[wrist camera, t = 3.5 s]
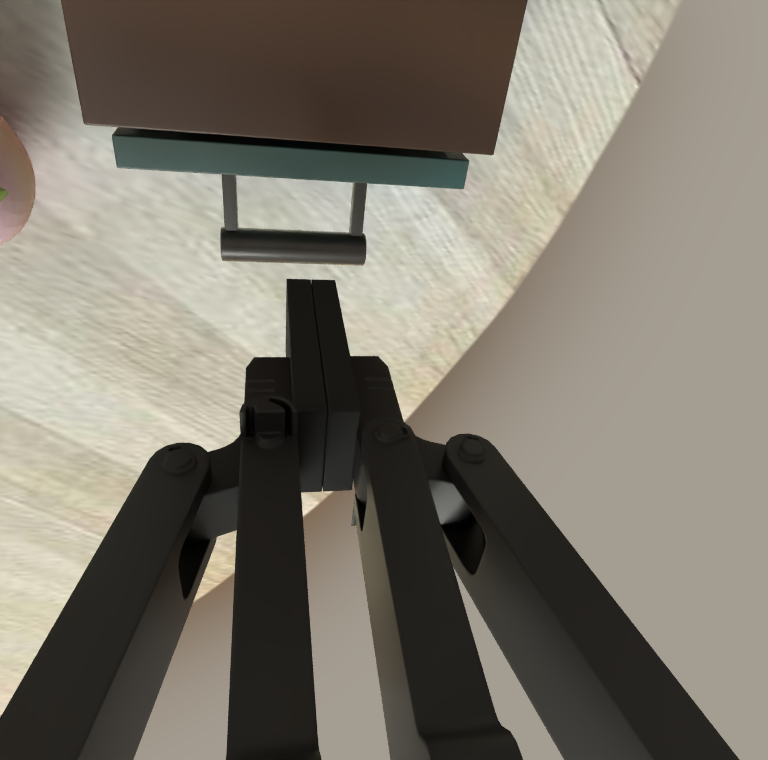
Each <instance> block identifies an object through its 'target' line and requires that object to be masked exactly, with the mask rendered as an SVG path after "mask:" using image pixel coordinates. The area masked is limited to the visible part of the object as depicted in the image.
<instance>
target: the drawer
mask: <svg viewBox="0 0 768 760" xmlns="http://www.w3.org/2000/svg"><path fill="white" fill-rule="evenodd" d="M112 140H113V146H114V152H115V158H116V165H117V167H118V168H128V169H144V170H160V171H176V172H193V173H209V174H222V187H223V205H224V223H225V227H222V228H221V257H222V260H223V261H242V262H273V263H304V264H334V265H364V263H365V259H366V237H365V234H364V233H362V232H363V221H364V211H365V200H366V190H367V183H371V184H387V185H404V186H420V187H436V188H452V189H464V185H465V180H466V175H467V170H468V164H469V160H468V159H467V158H466V157H465V156H464V155H463V154H462V153H458V152H444V151H431V150H418V149H404V148H391V147H378V146H364V145H351V144H337V143H324V142H311V141H297V140H284V139H271V138H257V137H244V136H231V135H217V134H204V133H190V132H177V131H164V130H150V129H137V128H124V127H118V128H117V129H116V131H115V132H114V133H113V134H112ZM236 175H241V176H257V177H274V178H290V179H306V180H322V181H339V182H353V190H352V202H351V215H350V227H349V232H350V233H346V232H323V231H300V230H277V229H254V228H238V208H237V183H236Z"/></svg>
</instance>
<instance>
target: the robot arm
mask: <svg viewBox="0 0 768 760" xmlns="http://www.w3.org/2000/svg"><path fill="white" fill-rule="evenodd" d="M240 430H241V434H240V436H239V437H238V438H237V439H236V440H235V441H234V442H233V443H231V444H229V445H228V446H226V447H223V448H220V449H217V450H214V451H210V452H207V451H206V450H205V449H203V448H202V447H201V446H199V445H195V444H192V443H175V444H171V445H168V446H165V447H163V448H162V449H160V450H158V451H156V452H155V454H154V455H153V456H152V457H151V458H150V459H149V461H148V463H147V465H146V466H145V468H144V470H143V471H142V473H141V475H140V477H139V478H138V480H137V482H136V484H135V485H134V487H133V489H132V491H131V492H130V494H129V496H128V497H127V499H126V501H125V503H124V504H123V506H122V508H121V510H120V511H119V513H118V515H117V516H116V518H115V520H114V522H113V523H112V525H111V527H110V529H109V530H108V532H107V534H106V536H105V537H104V539H103V541H102V542H101V544H100V546H99V548H98V549H97V551H96V553H95V555H94V556H93V558H92V560H91V562H90V563H89V565H88V567H87V568H86V570H85V572H84V574H83V575H82V577H81V579H80V581H79V582H78V584H77V586H76V588H75V589H74V591H73V593H72V594H71V596H70V598H69V600H68V601H67V603H66V605H65V607H64V608H63V610H62V612H61V614H60V615H59V617H58V619H57V620H56V622H55V624H54V626H53V627H52V629H51V631H50V633H49V634H48V636H47V638H46V640H45V641H44V643H43V645H42V646H41V648H40V650H39V652H38V653H37V655H36V657H35V659H34V660H33V662H32V664H31V665H30V667H29V669H28V671H27V672H26V674H25V676H24V678H23V679H22V681H21V683H20V685H19V686H18V688H17V690H16V691H15V693H14V695H13V697H12V698H11V700H10V702H9V704H8V705H7V707H6V709H5V711H4V712H3V714H2V716H1V718H0V760H133V759H134V756H135V754H136V751H137V748H138V746H139V743H140V740H141V738H142V735H143V732H144V730H145V727H146V724H147V722H148V719H149V717H150V714H151V712H152V709H153V706H154V704H155V701H156V698H157V695H158V693H159V690H160V688H161V685H162V682H163V680H164V677H165V675H166V672H167V669H168V666H169V664H170V661H171V659H172V656H173V653H174V651H175V648H176V646H177V643H178V640H179V638H180V635H181V632H182V630H183V627H184V624H185V622H186V619H187V617H188V614H189V611H190V608H191V606H192V603H193V601H194V598H195V596H196V593H197V590H198V588H199V585H200V582H201V580H202V577H203V574H204V572H205V569H206V567H207V564H208V561H209V559H210V556H211V553H212V551H213V548H214V545H215V543H216V538H217V537H218V536H220V535H223V534H226V533H229V532H232V531H235V530H237V536H236V558H235V581H234V602H233V625H232V626H233V627H232V647H231V668H230V669H231V670H230V690H229V693H230V694H229V712H228V713H229V714H228V735H227V755H226V760H321V755H320V752H319V746H318V735H317V721H316V705H315V692H314V678H313V677H314V676H313V662H312V647H311V632H310V618H309V603H308V589H307V574H306V559H305V544H304V529H303V514H302V500H301V492H321V491H322V487H323V491H342V490H352V484H353V480H354V487H355V499H354V507H353V515H352V526H354V525H356V526H357V532H358V539H359V546H360V553H361V560H362V566H363V574H364V580H365V587H366V594H367V601H368V608H369V615H370V622H371V628H372V635H373V641H374V648H375V655H376V663H377V669H378V676H379V683H380V690H381V696H382V704H383V711H384V717H385V724H386V731H387V738H388V745H389V752H390V759H391V760H523V758H522V756H521V753H520V750H519V747H518V745H517V742H516V740H515V739H514V737H513V735H512V734H511V732H510V731H509V730H507V729H505V728H504V727H503V726H501V724H500V722H499V721H498V718H497V716H496V713H495V710H494V707H493V703H492V700H491V696H490V693H489V689H488V686H487V682H486V679H485V676H484V672H483V668H482V665H481V662H480V659H479V655H478V651H477V648H476V645H475V641H474V638H473V634H472V631H471V627H470V624H469V620H468V617H467V613H466V610H465V607H464V603H463V600H462V596H461V593H460V590H459V586H458V582H457V579H456V576H455V572H454V569H455V570H456V572H457V574H458V576H459V577H460V579H461V581H462V583H463V584H464V586H465V588H466V590H467V591H468V593H469V595H470V596H471V598H472V600H473V601H474V603H475V605H476V607H477V609H478V610H479V612H480V614H481V616H482V617H483V619H484V621H485V622H486V624H487V626H488V628H489V629H490V631H491V633H492V635H493V637H494V638H495V640H496V642H497V643H498V645H499V647H500V649H501V650H502V652H503V654H504V656H505V657H506V659H507V661H508V662H509V664H510V666H511V668H512V670H513V671H514V673H515V675H516V676H517V678H518V680H519V682H520V683H521V685H522V687H523V689H524V690H525V692H526V694H527V696H528V697H529V699H530V701H531V702H532V704H533V706H534V708H535V710H536V711H537V713H538V715H539V716H540V718H541V720H542V722H543V723H544V725H545V727H546V729H547V731H548V732H549V734H550V736H551V738H552V739H553V741H554V743H555V744H556V746H557V748H558V750H559V751H560V753H561V755H562V757H563V758H564V760H739V759H738V757H737V756H736V755H735V754H734V752H733V751H732V750H731V749H730V747H729V746H728V745H727V743H726V742H725V741H724V740H723V738H722V737H721V736H720V734H719V733H718V732H717V730H716V729H715V728H714V727H713V725H712V724H711V723H710V722H709V720H708V719H707V718H706V717H705V715H704V714H703V713H702V711H701V710H700V709H699V707H698V706H697V705H696V704H695V703H694V701H693V700H692V699H691V697H690V696H689V695H688V693H687V692H686V691H685V690H684V688H683V687H682V686H681V684H680V683H679V682H678V681H677V679H676V678H675V677H674V676H673V674H672V673H671V672H670V670H669V669H668V668H667V667H666V665H665V664H664V663H663V661H662V660H661V659H660V658H659V656H658V655H657V654H656V653H655V651H654V650H653V649H652V647H651V646H650V645H649V644H648V642H647V641H646V640H645V638H644V637H643V636H642V635H641V633H640V632H639V631H638V630H637V628H636V627H635V626H634V624H633V623H632V622H631V620H630V619H629V618H628V617H627V615H626V614H625V613H624V612H623V610H622V609H621V608H620V607H619V605H618V604H617V603H616V601H615V600H614V599H613V597H612V596H611V595H610V594H609V592H608V591H607V590H606V588H605V587H604V586H603V585H602V583H601V582H600V581H599V580H598V578H597V577H596V576H595V574H594V573H593V572H592V571H591V570H590V568H589V567H588V566H587V564H586V563H585V562H584V560H583V559H582V558H581V557H580V555H579V554H578V553H577V551H575V549H574V548H573V546H572V545H571V544H570V543H569V541H568V540H567V539H566V538H565V536H564V535H563V534H562V532H561V531H560V530H559V528H558V527H557V526H556V525H555V523H554V522H553V521H552V519H551V518H550V517H549V516H548V514H547V513H546V512H545V511H544V509H543V508H542V507H541V505H540V504H539V503H538V502H537V500H536V499H535V498H534V496H533V495H532V494H531V493H530V491H529V490H528V489H527V488H526V486H525V485H524V484H523V483H522V481H521V480H520V479H519V477H518V476H517V475H516V474H515V472H514V471H513V470H512V468H511V467H510V466H509V464H508V463H507V462H506V461H505V459H504V458H503V457H502V455H501V454H500V453H499V452H498V450H497V449H496V448H495V447H494V446H493V445H492V444H491V443H490V442H489V441H488V440H486V439H484V438H482V437H480V436H477V435H472V434H458V435H456V436H454V437H451V438H450V439H449V441H448V442H447V443H446V445H443V444H439V443H434V442H430V441H426V440H423V439H421V438H419V437H417V436H415V435H414V433H413V431H412V429H411V427H410V426H408V425H407V424H406V423H404V422H403V418H402V415H401V411H400V408H399V404H398V401H397V397H396V393H395V390H394V386H393V383H392V380H391V376H390V372H389V369H388V366H387V365H386V364H385V363H384V362H383V361H382V360H381V359H380V358H379V357H378V356H350V353H349V348H348V343H347V338H346V333H345V328H344V323H343V318H342V313H341V308H340V303H339V298H338V293H337V288H336V283H335V280H312V281H311V280H307V279H287V294H286V357H254V358H253V360H252V361H251V362H250V364H249V365H248V366H247V368H246V382H245V401H244V404H243V405H242V407H241V410H240ZM453 567H454V569H453Z"/></svg>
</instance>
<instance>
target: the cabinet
mask: <svg viewBox="0 0 768 760" xmlns="http://www.w3.org/2000/svg"><path fill="white" fill-rule="evenodd" d="M61 4H62V10H63V15H64V20H65V26H66V31H67V36H68V42H69V47H70V52H71V57H72V63H73V68H74V73H75V79H76V84H77V89H78V95H79V100H80V105H81V111H82V116H83V121H84V124H86V125H97V126H110V127H124V128H137V129H150V130H164V131H177V132H190V133H204V134H217V135H231V136H244V137H257V138H271V139H284V140H297V141H311V142H324V143H337V144H351V145H364V146H378V147H391V148H404V149H418V150H431V151H444V152H458V153H471V154H484V155H493V154H494V150H495V145H496V141H497V136H498V131H499V127H500V122H501V118H502V113H503V109H504V104H505V100H506V95H507V91H508V86H509V82H510V77H511V72H512V68H513V63H514V59H515V54H516V50H517V45H518V41H519V36H520V32H521V27H522V23H523V18H524V14H525V9H526V4H527V0H61Z"/></svg>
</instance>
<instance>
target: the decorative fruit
mask: <svg viewBox="0 0 768 760" xmlns="http://www.w3.org/2000/svg"><path fill="white" fill-rule="evenodd" d="M34 199H35V177H34V171H33V168H32V164H31V161H30V158H29V156H28V153H27V151H26V149H25V147H24V145H23V144H22V142H21V140H20V139H19V137H18V136H17V134H16V133H15V132H14V130H13V129H12V128H11V127H10V125H9V124H8V123H7V122H6V121H5V120H4V119H3V118H2V117H1V116H0V245H2V244H3V243H5V242H7V241H9V240H10V239H12V238H13V237H14V236H15V235H17V234H18V233H19V232H20V231H21V229H22V228H23V226H24V225H25V224H26V222H27V221H28V218H29V216H30V213H31V211H32V208H33V204H34Z"/></svg>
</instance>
